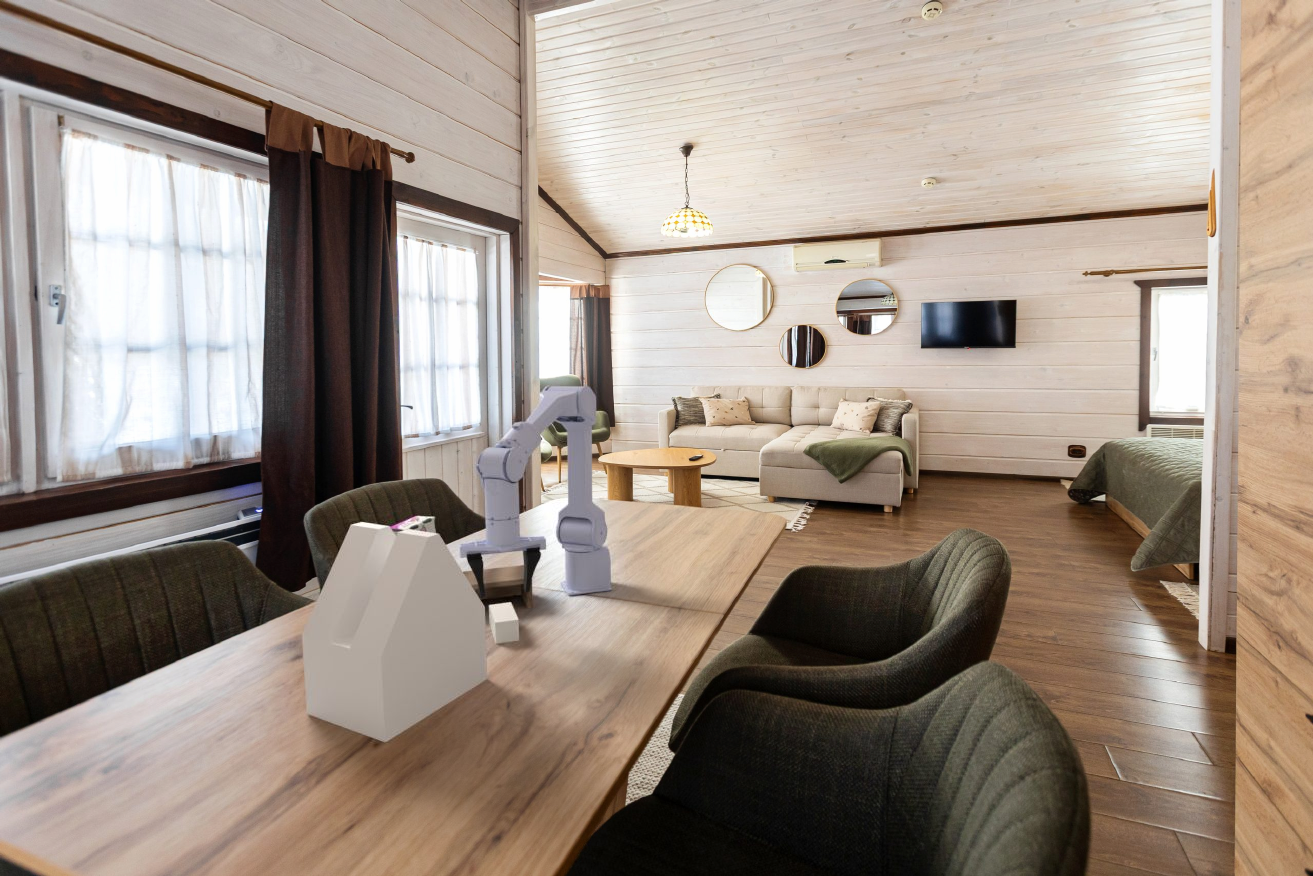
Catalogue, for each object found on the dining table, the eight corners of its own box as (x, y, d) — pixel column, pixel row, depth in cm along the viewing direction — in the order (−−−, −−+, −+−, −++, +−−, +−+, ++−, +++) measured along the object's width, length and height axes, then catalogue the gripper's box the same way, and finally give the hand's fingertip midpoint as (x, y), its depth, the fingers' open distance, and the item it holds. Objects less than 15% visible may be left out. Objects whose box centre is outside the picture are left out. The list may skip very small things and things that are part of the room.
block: (511, 622, 125) (510, 602, 124) (519, 641, 116) (518, 619, 116) (489, 625, 123) (488, 605, 123) (495, 645, 115) (495, 622, 114)
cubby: (525, 592, 140) (524, 565, 140) (532, 607, 132) (532, 577, 131) (456, 601, 135) (455, 572, 135) (459, 616, 127) (458, 586, 126)
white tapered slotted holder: (414, 659, 109) (407, 510, 106) (487, 679, 102) (481, 520, 99) (307, 714, 92) (295, 538, 89) (385, 743, 85) (375, 553, 82)
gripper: (460, 525, 108) (463, 606, 110) (548, 518, 113) (550, 595, 115) (457, 516, 115) (460, 592, 116) (541, 509, 120) (542, 582, 121)
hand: (504, 592), depth 116 cm, fingers open, 7 cm apart
